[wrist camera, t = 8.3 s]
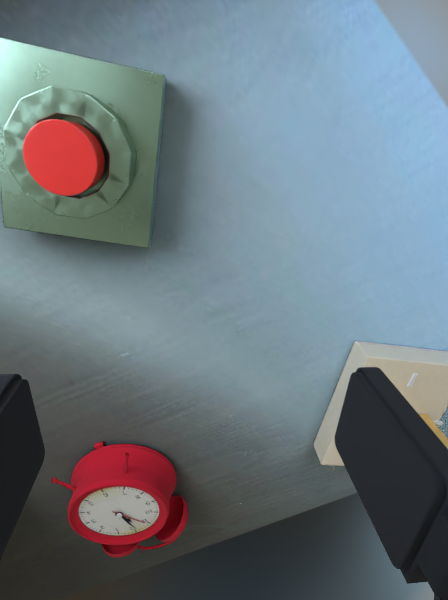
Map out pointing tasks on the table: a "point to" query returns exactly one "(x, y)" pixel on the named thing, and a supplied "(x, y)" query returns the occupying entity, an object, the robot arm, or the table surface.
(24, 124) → the button block
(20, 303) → the table surface
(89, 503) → the alarm clock
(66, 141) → the button
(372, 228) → the table surface
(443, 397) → the dial base plate
